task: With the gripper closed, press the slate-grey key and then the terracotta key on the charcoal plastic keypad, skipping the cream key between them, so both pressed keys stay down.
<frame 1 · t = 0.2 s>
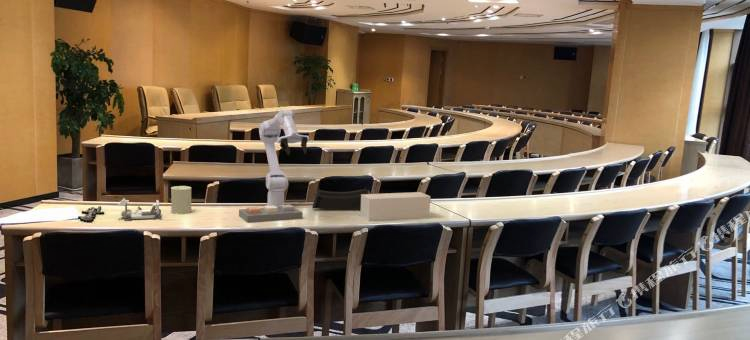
hand: (297, 153, 273), 31 cm above the table, tool tilted 45°, fingers open, 7 cm apart
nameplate: (92, 216, 271), on the table
can: (181, 212, 285), on the table
key terracotta: (253, 211, 277), point 3 cm above the table, slide at 0.0 cm
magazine: (342, 210, 303), on the table
key slate: (287, 209, 285), point 3 cm above the table, slide at 0.0 cm
beige rectangular block: (394, 217, 294), on the table
key cream: (270, 210, 281), point 3 cm above the table, slide at 0.0 cm
keypad: (270, 217, 282), on the table
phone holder: (140, 218, 271), on the table
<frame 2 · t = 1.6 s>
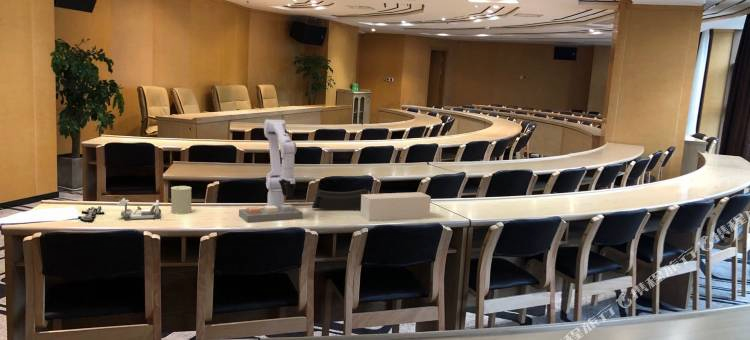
hand: (287, 196, 284), 9 cm above the table, tool pointing down, fingers open, 5 cm apart
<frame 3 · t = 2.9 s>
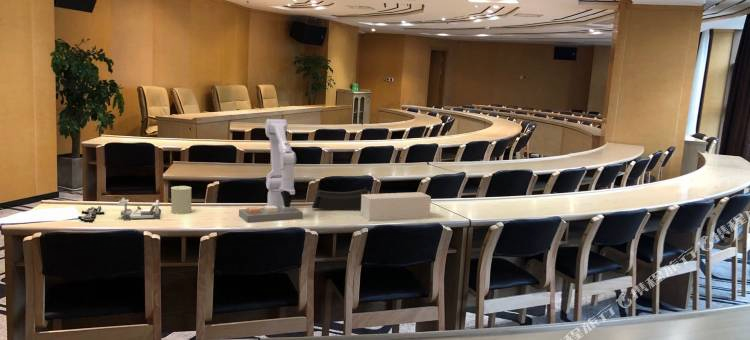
hand: (287, 206, 285), 4 cm above the table, tool pointing down, fingers closed, pressing on key slate
key slate: (287, 209, 285), point 3 cm above the table, slide at 0.4 cm, touching gripper
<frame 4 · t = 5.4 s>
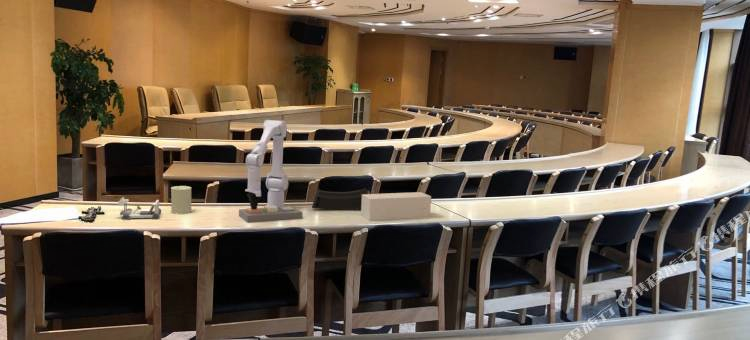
hand: (253, 209, 277), 4 cm above the table, tool pointing down, fingers closed, pressing on key terracotta
key terracotta: (253, 212, 277), point 3 cm above the table, slide at 0.4 cm, touching gripper
key slate: (287, 211, 285), point 2 cm above the table, slide at 1.1 cm
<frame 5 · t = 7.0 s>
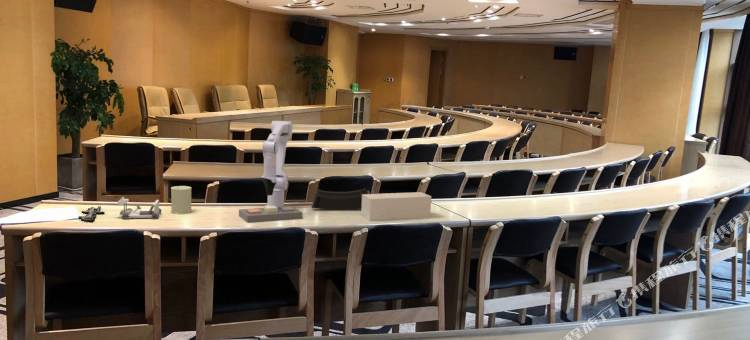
hand: (269, 195, 285), 9 cm above the table, tool pointing down, fingers closed
key terracotta: (253, 213, 278), point 2 cm above the table, slide at 1.1 cm
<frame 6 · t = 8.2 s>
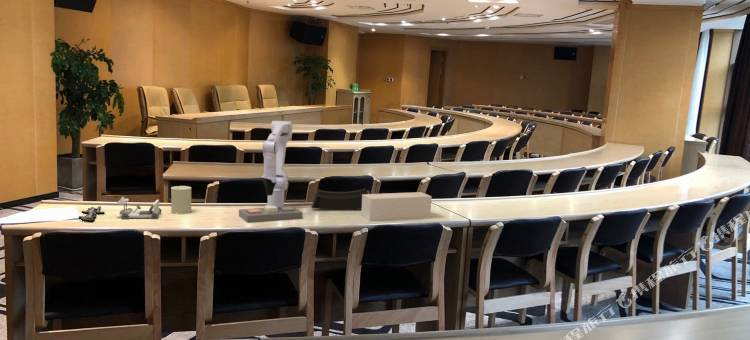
hand: (269, 195, 285), 9 cm above the table, tool pointing down, fingers closed
at the end: key slate slide at 1.1 cm; key terracotta slide at 1.1 cm; key cream slide at 0.0 cm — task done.
